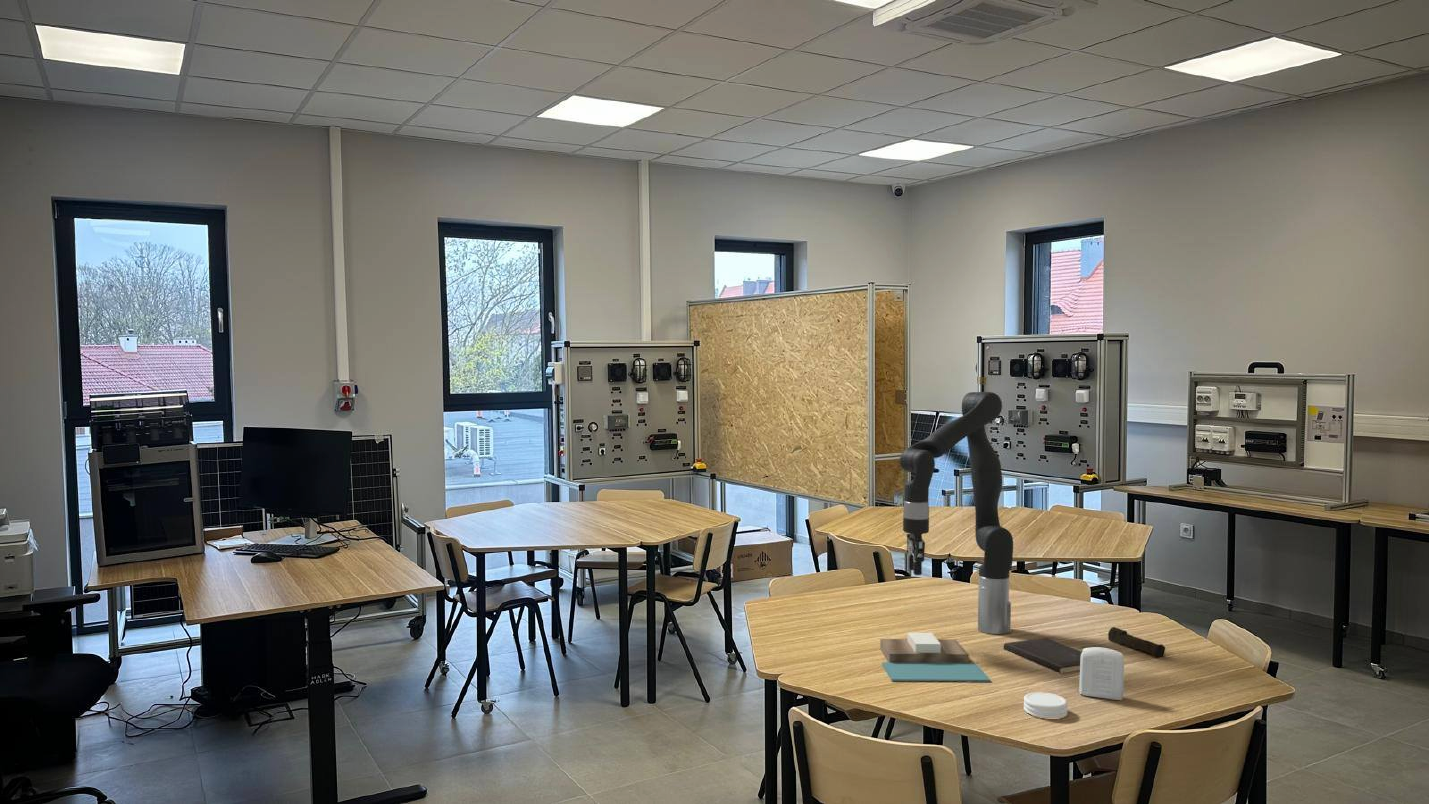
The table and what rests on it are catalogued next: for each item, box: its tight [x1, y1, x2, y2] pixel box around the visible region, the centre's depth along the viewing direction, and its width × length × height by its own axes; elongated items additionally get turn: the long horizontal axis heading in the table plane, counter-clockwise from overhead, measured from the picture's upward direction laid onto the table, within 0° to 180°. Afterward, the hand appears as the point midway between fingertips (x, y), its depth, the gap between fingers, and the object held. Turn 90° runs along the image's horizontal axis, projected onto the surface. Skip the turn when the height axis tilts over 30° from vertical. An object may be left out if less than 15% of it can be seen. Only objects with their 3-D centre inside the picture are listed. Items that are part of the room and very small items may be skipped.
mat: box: [881, 661, 991, 683], centre depth 253 cm, size 26×14×1 cm, turn 90°
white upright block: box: [1078, 646, 1125, 701], centre depth 235 cm, size 10×4×12 cm, turn 69°
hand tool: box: [1107, 626, 1166, 659], centre depth 276 cm, size 19×4×5 cm, turn 22°
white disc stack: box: [1023, 691, 1069, 719], centre depth 225 cm, size 10×10×4 cm
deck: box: [879, 638, 970, 663], centre depth 267 cm, size 22×14×3 cm, turn 90°
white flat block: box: [907, 632, 941, 653], centre depth 266 cm, size 7×11×2 cm, turn 0°
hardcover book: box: [1003, 637, 1083, 674], centre depth 267 cm, size 16×23×2 cm
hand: (915, 572), depth 278 cm, fingers open, 6 cm apart
